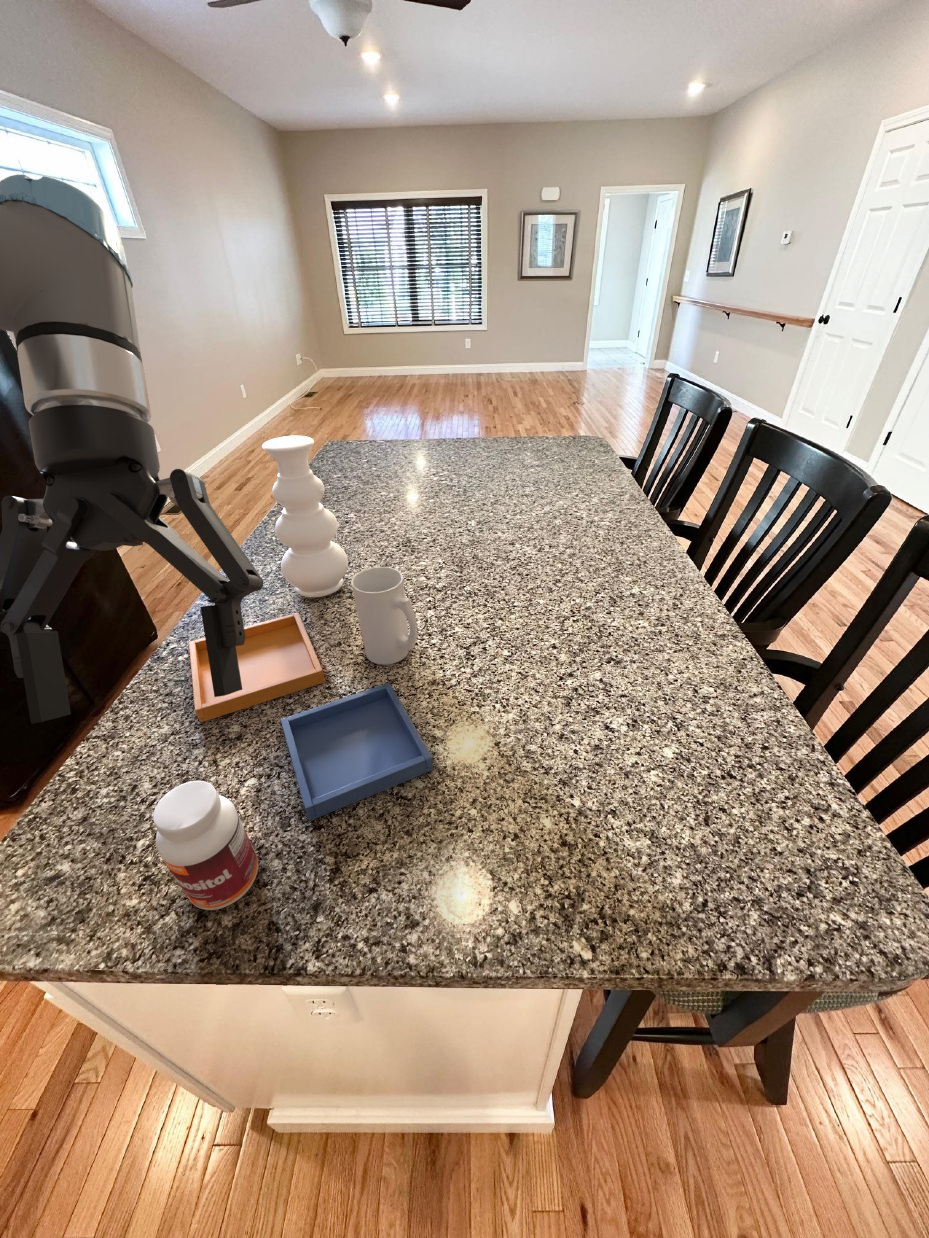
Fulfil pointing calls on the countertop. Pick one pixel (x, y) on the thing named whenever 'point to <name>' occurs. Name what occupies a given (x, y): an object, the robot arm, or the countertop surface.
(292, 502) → the vase
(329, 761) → the blue tray
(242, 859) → the pill bottle
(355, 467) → the countertop surface
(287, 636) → the amber tray
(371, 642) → the mug
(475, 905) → the countertop surface
